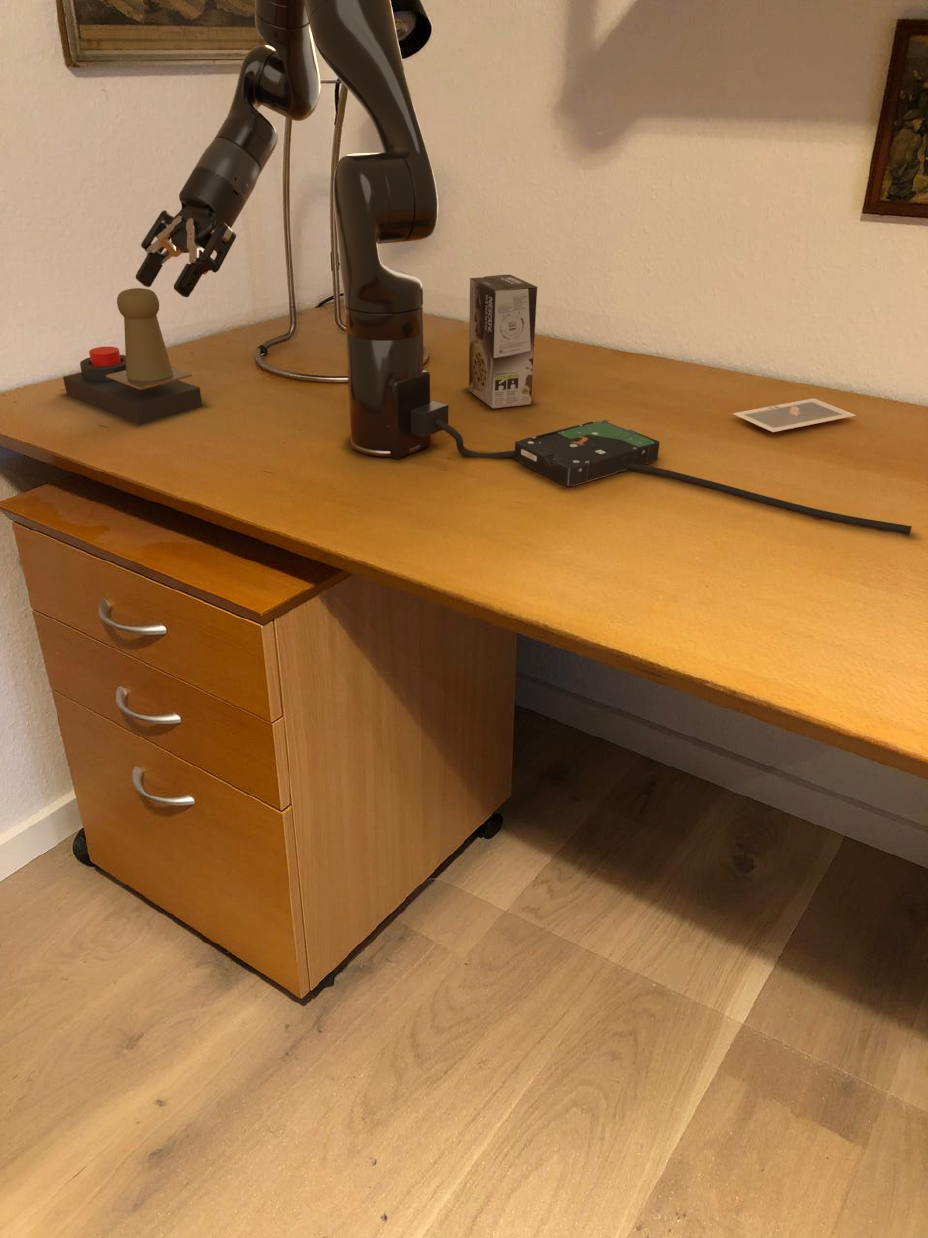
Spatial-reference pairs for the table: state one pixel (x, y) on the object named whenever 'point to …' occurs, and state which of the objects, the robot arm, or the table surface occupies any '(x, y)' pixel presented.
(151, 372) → the olive pawn piece
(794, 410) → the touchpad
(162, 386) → the machine
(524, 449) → the disk drive
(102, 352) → the button
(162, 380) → the plate
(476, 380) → the coffee box
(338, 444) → the table surface
